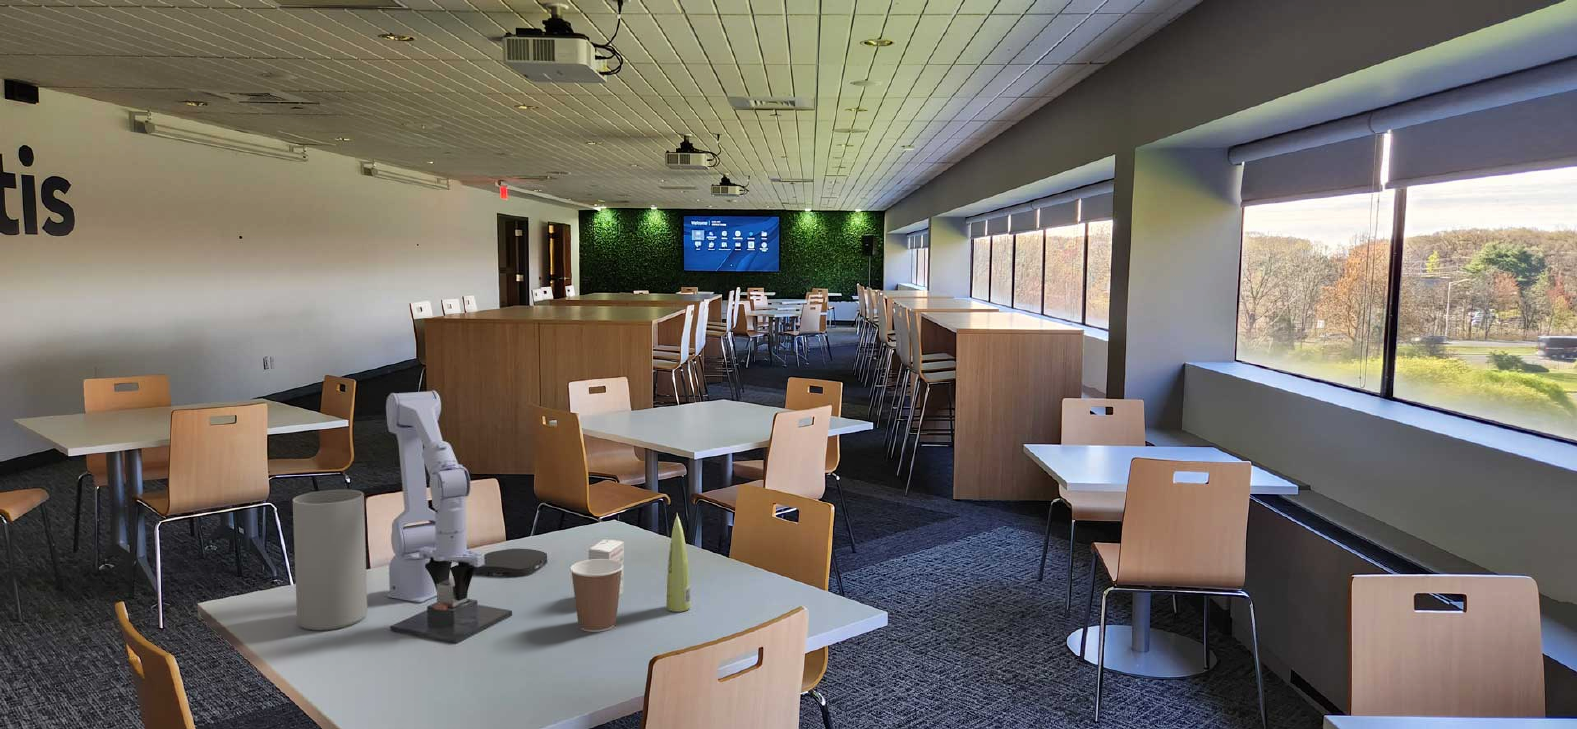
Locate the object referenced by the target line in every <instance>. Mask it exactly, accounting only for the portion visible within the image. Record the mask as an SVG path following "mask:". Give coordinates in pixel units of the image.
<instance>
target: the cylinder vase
mask: <svg viewBox="0 0 1577 729" xmlns="http://www.w3.org/2000/svg"><path fill="white" fill-rule="evenodd" d="M292 515H293V516H292V519H293V523H292V524H293V546H294V568H295V570H294V572H295V573H294V576H295V597H296V598H295V600H296V622H297V624H298V626H299V627H300V628H302V629H305V630H309V631H330V630H336V629H343V628H346V627H349V626H352V625H355V624H357V623H359V622H361V621H362V620H363V619H364V618H366V616H367V614H368V591H367V590H368V589H367V584H368V583H367V559H366V557H367V556H366V522H365V520H366V519H365V517H366V516H365V493H364V492H362V491H360V490H354V489H330V490H329V489H328V490H327V489H326V490H319V491H313V492H308V493H304V494H301V495H297V496H295V497H294V498H292Z"/></svg>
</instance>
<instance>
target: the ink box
mask: <svg viewBox="0 0 1577 729" xmlns="http://www.w3.org/2000/svg"><path fill="white" fill-rule="evenodd" d="M624 548H625V542H624V541H623V540H622V541H621V540H616V539H602V540H601V541H599V542H597V543H596V544H594V545H593V546H591V547H590V548H589V550H588V560H592V559H610V560H616V561H619V562H621V563H622V564H623V565H624V559H625V558H624V556H625V555H624V551H625V549H624ZM623 593H624V568H623V569H622V573H621V582H620V590H619V597H620V596H622V595H623Z"/></svg>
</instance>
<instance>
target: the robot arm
mask: <svg viewBox="0 0 1577 729" xmlns="http://www.w3.org/2000/svg"><path fill="white" fill-rule="evenodd" d="M385 411H386V422H387V428H388V432H390V433H391V434H392V433H393V435H394V434H395V435H396V438H397V443H398V451H399V453H398V454H399V464H400V474H401V475H400V476H401V485H402V495H403V507H404V508H403V509H404V510H403V511H402V512H400V513H399V515H397V517H395V518H394V519H393V521H392V523H391V534H390V536H391V537H390V539H391V541H390V542H391V543H390V544H391V548H392V551H393V554H394V556H393V557H392V558H391V560H390V562H389V567H388V570H389V571H388V575H389V576H388V580H389V593H387V594H386V597H387V598H392V599H397V600H403V601H410V602H414V603H423V602H425V601H428V600H430V599H432V598H435V597H437V584H438V583H440V582H443V581H445V580H448V579H450V574H452V578H454V582H455V594H456V599H457V600H458V601H460V600H463V599H465V598H466V597H467V595H468V592H469V587H470V585H471V581H472V578H473V576H474V574H475V573H474V572H475V570H476V569H477V567H479V566H482V565H484V555H485V554H480V553H477V552H475V551H472V550H469V549H467V539H468V538H467V502H466V501H467V500H466V498H467V497H469V495H470V493H471V478H470V474H469V471H468V469H467V468H466V467H464V466H463V464H459V463H458V459H457V458H456V455H455V453H454V450H453V447H452V445H451V444H450V443H449V442H447V441H443V437H442V434H441V429H440V425H439V422H438V421H439V419H440V415H441V411H442V401H441V397H440V395H439V393H438V392H437V391H436V390H430V391H417V392H416V391H415V392H399V393H396V392H391V393H390V394H389V395H388V396H387V398H386V404H385ZM425 468H426V470H427V472H428V475H429V478H430V479H429V492H430V495H431V504H432V508H433V509H434V510H433V509H431V508H429V500H428V490H427V478H426V470H425ZM422 522H424V523H422ZM425 522H426V523H425ZM414 523H415V524H414ZM416 523H417V524H416ZM418 523H419V524H418ZM408 524H411V525H408ZM412 524H413V525H412ZM453 563H455V564H456V565H453V566H452V564H453Z"/></svg>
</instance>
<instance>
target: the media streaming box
mask: <svg viewBox="0 0 1577 729" xmlns="http://www.w3.org/2000/svg"><path fill="white" fill-rule="evenodd" d="M483 555H484V565H482V566H479V567H477V569H476V570H475V572H474V574H475V575H478V576H484V577H485V576H486V577H487V576H488V577H502V578H503V577H505V578H522V577H527V576H530V575H533V574H534V573H536V572H537V571H539V570H540V569H542V568H543V567H544V566H546V565H547V564H548V553H546V552H545V551H541V550H536V549H532V548H507V549H501V550H495V551H494V550H493V551H490V552H487V553H484V554H483Z"/></svg>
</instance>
